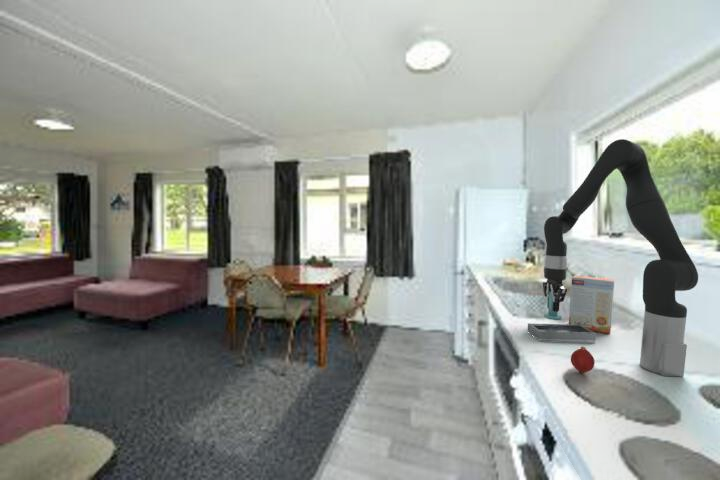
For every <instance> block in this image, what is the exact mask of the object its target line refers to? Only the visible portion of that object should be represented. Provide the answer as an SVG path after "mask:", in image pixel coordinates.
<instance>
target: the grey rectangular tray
mask: <svg viewBox="0 0 720 480" xmlns="http://www.w3.org/2000/svg"><path fill="white" fill-rule="evenodd" d="M527 331H528V332H529V333H530V334H531V335H533V336H534V337H535V338H536V339H538V340H539V341H538V340H537V341H538V342H545V341H547V342H552V343H553V342H554V343H579V344H581V343H585V344H596V337H597V333H596V332H595V331H592V330H589V329H587V328H585V327H583V326H581V325H569V324H564V323H563V324H562V323H561V324H557V323H527ZM529 333H528V334H529ZM530 334H529V335H530ZM531 335H530V336H531ZM533 336H532V337H533ZM534 337H533V338H534ZM535 338H534V339H535ZM536 339H535V340H536ZM547 342H546V343H547Z"/></svg>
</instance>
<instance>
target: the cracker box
mask: <svg viewBox="0 0 720 480" xmlns="http://www.w3.org/2000/svg"><path fill="white" fill-rule="evenodd" d="M614 291H615V279H612V278H611V279H610V278H602V277H593V276H583V275H573V276H572V277H571V287H570V300H569V313H568V315H569V316H568V317H569V318H568V325H581V326H583V327H585V328H587V329H589V330H591V331H593V332H597V333H598V332H599V333H602V334H607V335H609V334H611V332H612V331H611V330H612V320H613V319H612V318H613V304H614V303H613V302H614V293H615V292H614Z"/></svg>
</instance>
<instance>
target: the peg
mask: <svg viewBox="0 0 720 480" xmlns="http://www.w3.org/2000/svg"><path fill="white" fill-rule="evenodd" d="M555 294H558V293H555ZM556 297H557V296H556ZM547 309H548V308H547ZM552 309H553V296H552V295H551V292H549V309H548V310H547V311H548V312H545V313H544V314H543V317H544V318H545V319H547V320H553V321H561V320H562V315H560V314H558V313H559V311H558V312H554V311H553V310H552Z"/></svg>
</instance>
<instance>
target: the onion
mask: <svg viewBox="0 0 720 480" xmlns="http://www.w3.org/2000/svg"><path fill="white" fill-rule="evenodd" d="M595 361H596V360H595V358H594V356H593V354H592V353H591V352H590V351H589V350H588V349H587V348H586V347H585V346H581V347H580V348H578V349H576V350H574V351H573V352H572V353H571V355H570V363H571V364H572V366H573V368H574V369H575V370H577V371H578V373H580V372H582V373H581V374H586V373H589V372H590V371H592V370H593V369H594V367H595V364H596V363H595Z"/></svg>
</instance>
